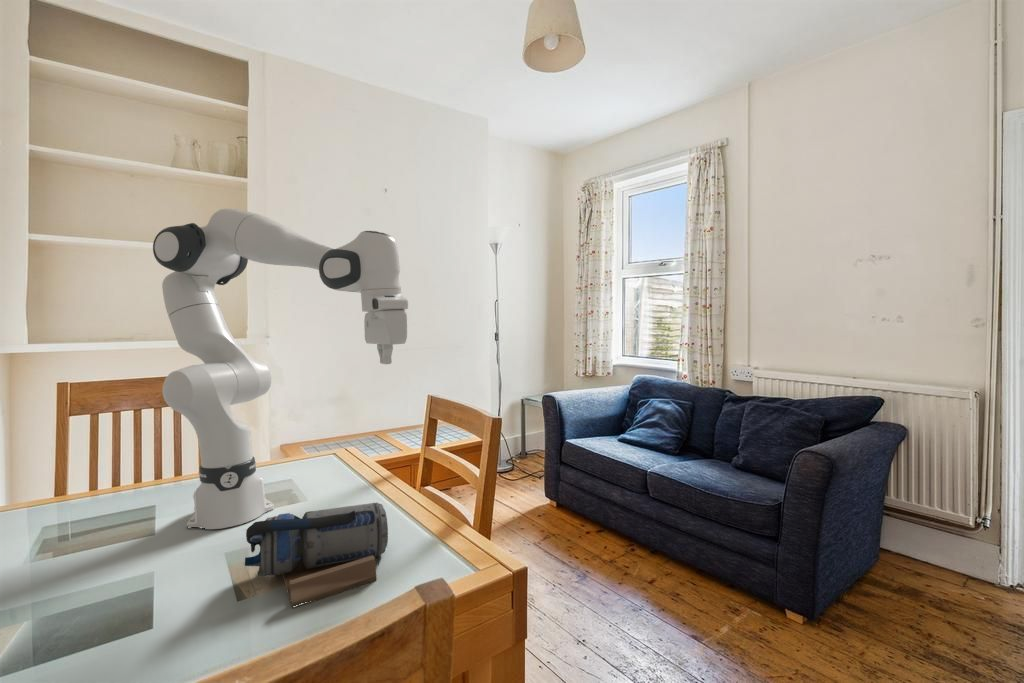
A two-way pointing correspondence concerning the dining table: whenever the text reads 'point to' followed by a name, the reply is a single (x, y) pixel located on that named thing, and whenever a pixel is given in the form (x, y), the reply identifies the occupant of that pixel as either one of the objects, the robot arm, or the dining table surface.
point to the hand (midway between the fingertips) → (385, 363)
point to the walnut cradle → (328, 579)
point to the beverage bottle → (317, 538)
